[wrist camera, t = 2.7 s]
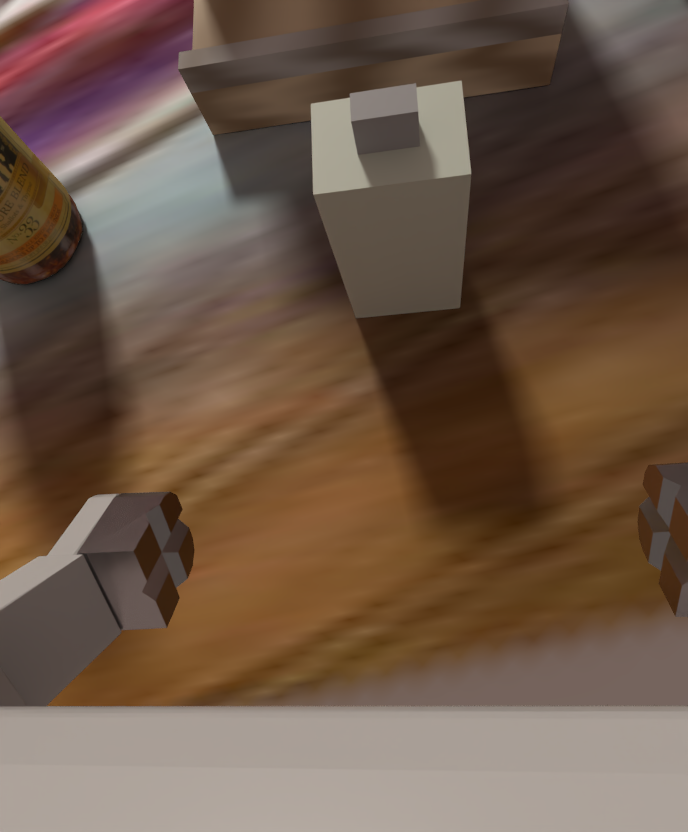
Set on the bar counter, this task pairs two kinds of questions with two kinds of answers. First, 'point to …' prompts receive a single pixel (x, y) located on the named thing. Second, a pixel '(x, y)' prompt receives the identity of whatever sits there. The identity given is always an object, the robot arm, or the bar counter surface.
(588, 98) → the bar counter surface
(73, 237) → the sauce bottle
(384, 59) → the back board shelf
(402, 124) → the beige block
